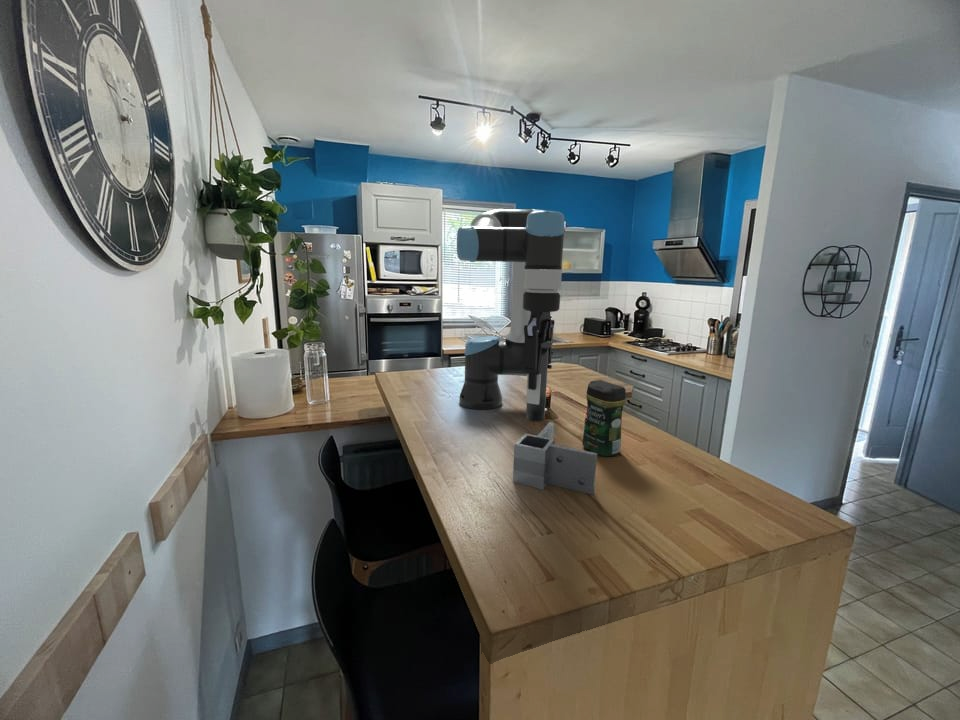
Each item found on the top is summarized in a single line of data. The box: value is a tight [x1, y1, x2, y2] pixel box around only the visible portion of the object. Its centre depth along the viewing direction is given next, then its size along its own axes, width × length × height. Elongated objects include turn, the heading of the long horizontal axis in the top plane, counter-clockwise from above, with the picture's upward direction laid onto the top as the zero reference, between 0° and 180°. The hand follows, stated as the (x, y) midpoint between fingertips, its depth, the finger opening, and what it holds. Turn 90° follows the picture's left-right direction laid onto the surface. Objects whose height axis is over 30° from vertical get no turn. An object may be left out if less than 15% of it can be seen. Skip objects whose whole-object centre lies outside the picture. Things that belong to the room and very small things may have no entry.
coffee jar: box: [581, 379, 627, 457], centre depth 108 cm, size 10×8×19 cm
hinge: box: [512, 421, 598, 496], centre depth 95 cm, size 17×17×9 cm
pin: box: [525, 340, 554, 423], centre depth 89 cm, size 6×6×17 cm
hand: (536, 400), depth 90 cm, fingers closed on pin, 4 cm apart
